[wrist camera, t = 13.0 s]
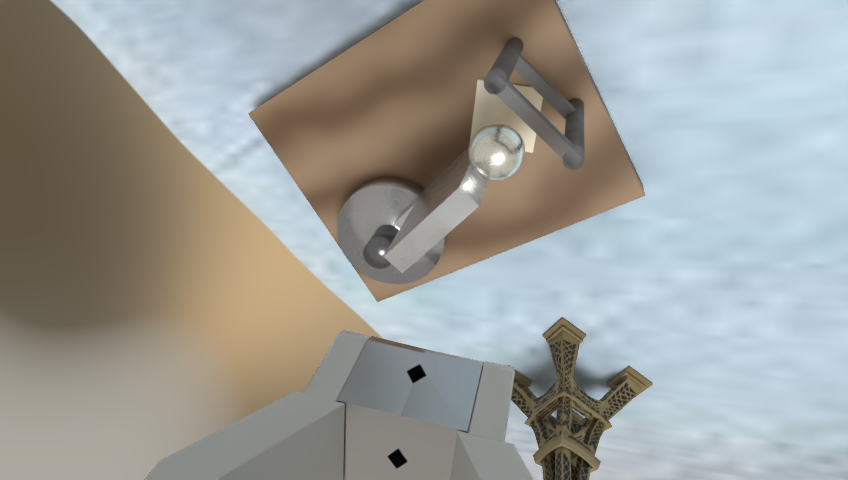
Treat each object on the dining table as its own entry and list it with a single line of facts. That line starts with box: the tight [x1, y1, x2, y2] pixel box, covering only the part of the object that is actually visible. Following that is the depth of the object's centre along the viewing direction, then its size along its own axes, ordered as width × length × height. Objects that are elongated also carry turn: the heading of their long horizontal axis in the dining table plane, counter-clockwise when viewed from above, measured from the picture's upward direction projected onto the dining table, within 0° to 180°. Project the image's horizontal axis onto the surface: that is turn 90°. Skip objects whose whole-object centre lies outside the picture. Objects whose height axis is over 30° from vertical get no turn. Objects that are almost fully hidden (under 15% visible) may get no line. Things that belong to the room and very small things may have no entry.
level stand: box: [248, 0, 645, 302], centre depth 42 cm, size 20×25×13 cm
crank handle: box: [337, 123, 525, 284], centre depth 42 cm, size 20×9×12 cm, turn 138°
